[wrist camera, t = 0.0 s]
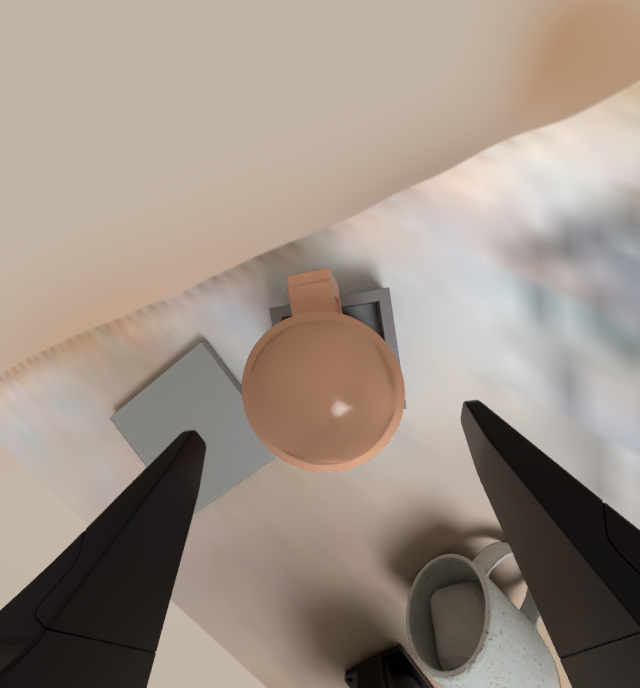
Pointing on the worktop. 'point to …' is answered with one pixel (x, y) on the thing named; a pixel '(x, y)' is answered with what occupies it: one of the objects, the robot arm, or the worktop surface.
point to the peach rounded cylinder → (322, 382)
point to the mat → (196, 421)
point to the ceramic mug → (476, 626)
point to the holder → (355, 300)
